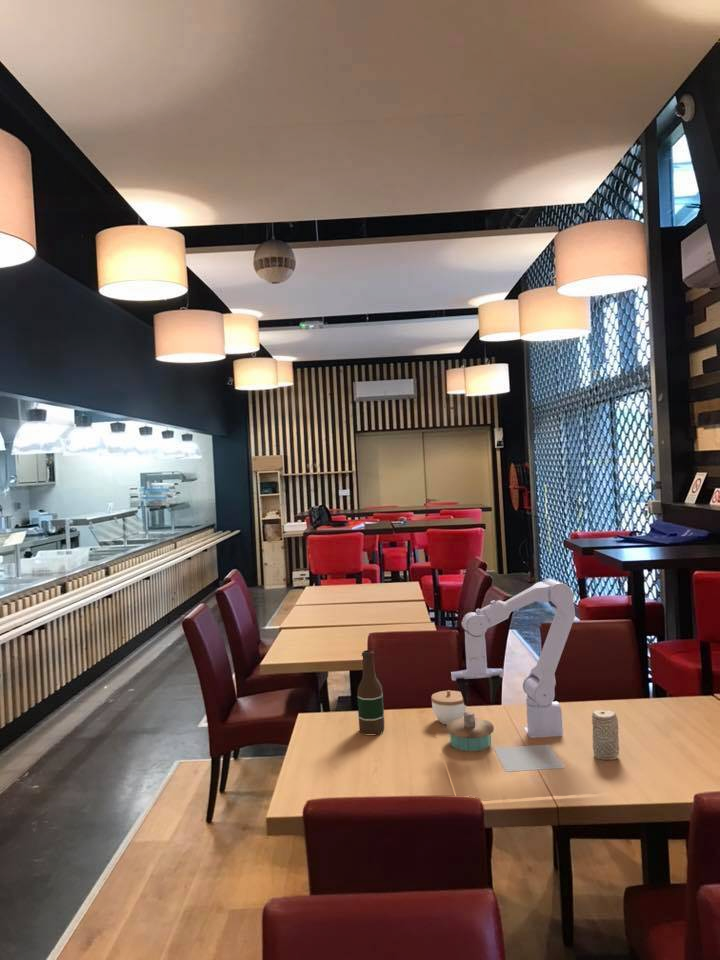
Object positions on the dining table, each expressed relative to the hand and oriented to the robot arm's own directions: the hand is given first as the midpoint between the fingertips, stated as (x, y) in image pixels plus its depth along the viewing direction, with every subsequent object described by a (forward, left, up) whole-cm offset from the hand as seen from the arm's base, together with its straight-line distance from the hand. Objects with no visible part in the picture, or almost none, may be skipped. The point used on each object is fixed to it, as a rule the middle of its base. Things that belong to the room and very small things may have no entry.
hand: (479, 703), depth 201 cm
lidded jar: (+7, -16, -11) cm, 20 cm away
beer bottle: (+31, -12, -11) cm, 34 cm away
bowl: (+4, +3, -10) cm, 11 cm away
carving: (-29, +17, -11) cm, 36 cm away
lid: (+4, +4, -6) cm, 8 cm away
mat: (-9, +15, -10) cm, 21 cm away
